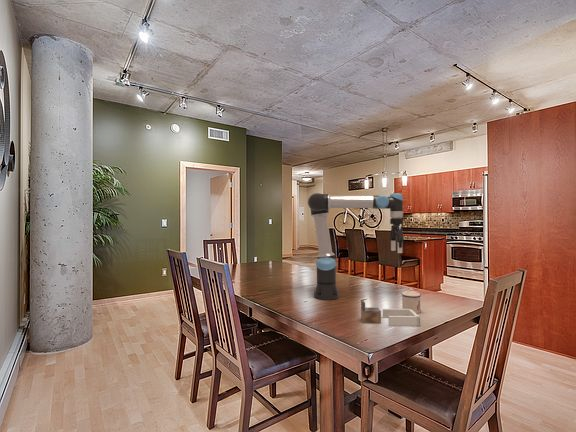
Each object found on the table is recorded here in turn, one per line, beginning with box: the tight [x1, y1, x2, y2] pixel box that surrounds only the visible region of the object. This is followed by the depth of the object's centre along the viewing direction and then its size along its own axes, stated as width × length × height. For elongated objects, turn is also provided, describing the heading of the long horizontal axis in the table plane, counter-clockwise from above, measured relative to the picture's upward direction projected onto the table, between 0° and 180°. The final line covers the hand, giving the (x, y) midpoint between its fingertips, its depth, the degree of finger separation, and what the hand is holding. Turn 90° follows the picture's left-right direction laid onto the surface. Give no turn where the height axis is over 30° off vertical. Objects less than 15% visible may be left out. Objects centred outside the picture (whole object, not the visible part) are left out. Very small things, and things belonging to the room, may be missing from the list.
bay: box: [382, 308, 421, 327], centre depth 145 cm, size 14×12×4 cm
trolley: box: [360, 299, 382, 324], centre depth 146 cm, size 8×6×9 cm
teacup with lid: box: [401, 287, 421, 315], centre depth 161 cm, size 12×9×12 cm
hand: (396, 251), depth 195 cm, fingers open, 13 cm apart
